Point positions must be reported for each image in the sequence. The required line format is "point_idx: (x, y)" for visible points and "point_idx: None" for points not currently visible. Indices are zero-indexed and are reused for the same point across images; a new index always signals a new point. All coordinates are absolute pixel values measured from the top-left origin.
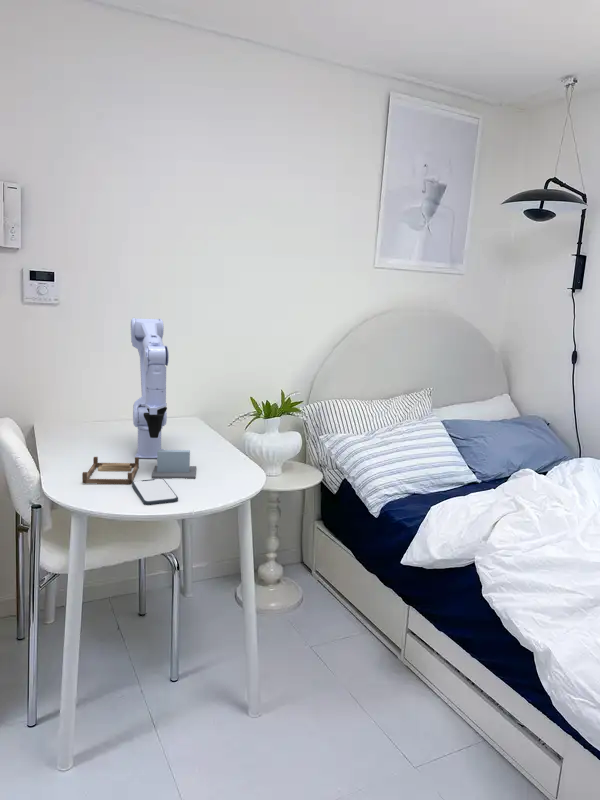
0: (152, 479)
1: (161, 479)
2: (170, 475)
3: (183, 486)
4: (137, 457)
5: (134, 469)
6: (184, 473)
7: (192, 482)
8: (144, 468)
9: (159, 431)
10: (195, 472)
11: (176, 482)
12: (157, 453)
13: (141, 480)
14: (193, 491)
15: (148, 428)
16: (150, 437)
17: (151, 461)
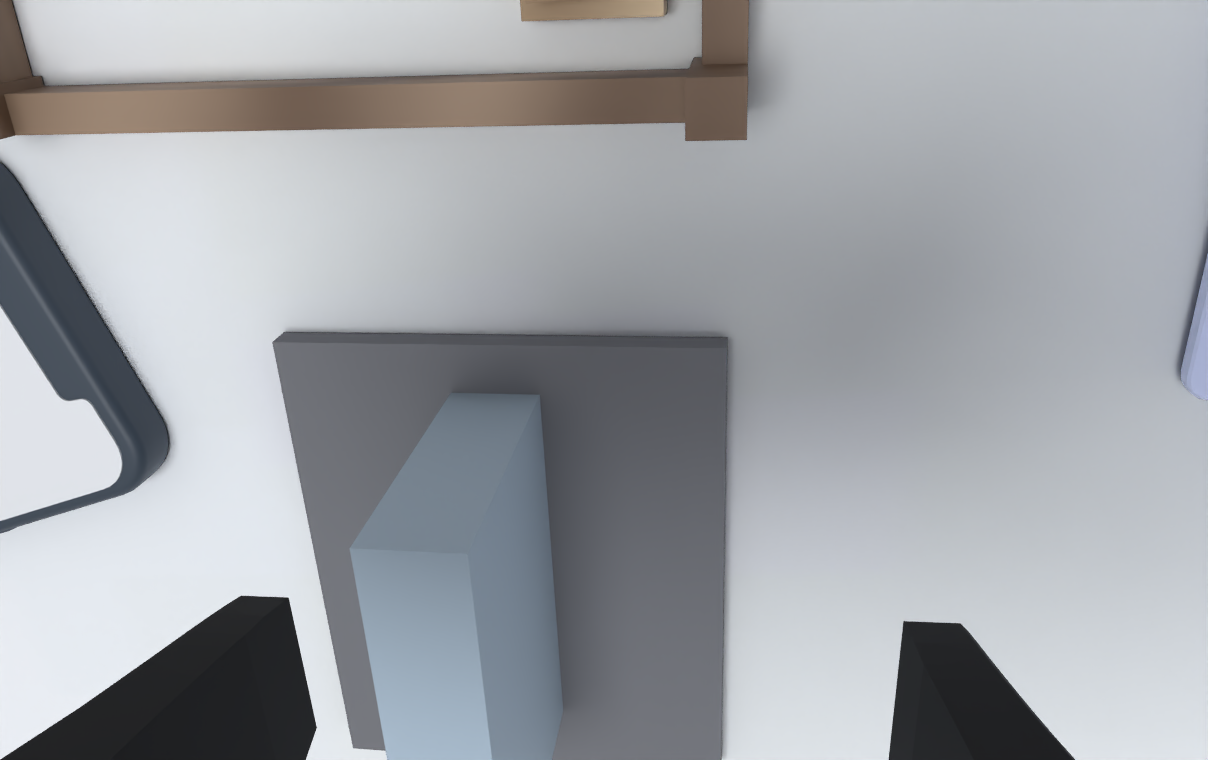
0: (80, 378)
1: (104, 470)
2: (342, 537)
3: (119, 634)
4: (734, 117)
5: (414, 104)
6: None
7: None
8: (689, 201)
9: (895, 757)
10: None
11: (215, 578)
12: (361, 531)
13: (7, 259)
14: (19, 702)
15: (38, 738)
16: (231, 602)
17: (1055, 261)
